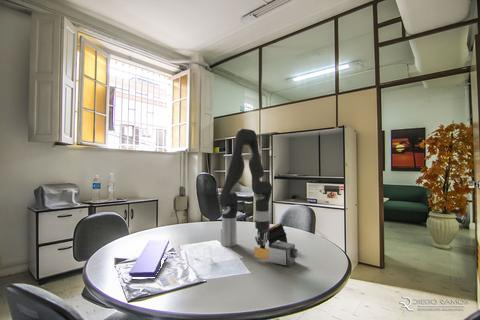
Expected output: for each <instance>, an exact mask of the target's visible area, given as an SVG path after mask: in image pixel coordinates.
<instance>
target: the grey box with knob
mask: <svg viewBox="0 0 480 320" xmlns="http://www.w3.org/2000/svg"><path fill="white" fill-rule="evenodd" d="M271 248H277V249H283V250H286V256H287V249H289V256H290V267H291V266H292V265H293V264H295V263H296V259H298V255H299V250H298V249H297V248H296V244H295V243H290V242H287V243H286V242H281V241H276V242H274V243H272V244H271ZM280 265H281V266H283V265H282V264H280ZM284 266H286V267H287V265H284Z"/></svg>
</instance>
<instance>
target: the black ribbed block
mask: <svg viewBox="0 0 480 320" xmlns="http://www.w3.org/2000/svg"><path fill="white" fill-rule="evenodd" d="M267 232H269V236H268V240H267V242H268V248H269V247H271V244H272V243H274V242H276V241H281V242H286V243H288V238H287V233H286V232H285V229H284V225H283V224H282V222H279V223H277V224H275V225H274V226H271V227H270V228H269V229H267Z"/></svg>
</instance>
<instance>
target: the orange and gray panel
mask: <svg viewBox="0 0 480 320" xmlns="http://www.w3.org/2000/svg"><path fill="white" fill-rule="evenodd" d="M253 249H254V251H253V252H254V254H253V255H254V256H253V257H254V258H257V259H264V260H267V261H268V262H269V263H273V264H277V265H281V264H282V265H281V266H285V265H287V266H286V268H287V267H288V268H289V267H291V266H290V256H289V249H287V256H286V250H283V249H277V248H271V247H269V246H268V248H266V247H265V248H260V246H254V248H253Z"/></svg>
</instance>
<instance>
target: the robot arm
mask: <svg viewBox="0 0 480 320" xmlns="http://www.w3.org/2000/svg"><path fill="white" fill-rule="evenodd" d="M245 146H248V147H249V148H250V154H249V155H250V156H249V160H248V168H249V171H250V174H251V189H252V192H253V193H254V194H255V195H256V196H260V198H258V199H256V200H255V213H254V217H255V218H254V220H255V221H254V223H255V225H254V226H255V227H254V228H255V229H257V236H255V237H254V239H255V242H256V244H257V245H258V246H259V248H265V249H266V244H267V243H268V236H269V232H267V229H269V228H271V227H270V223H271V221H270V200H271V196H272V191H273V187H272V183H270V181H268V180H264V181H263V180H261V178H263V177H264V176H265V172H264V167H263V165H262V161H261V157H260V151H259V150H260V149H259V142H258V137H257V134H256V131H255V130H253V129H249V128H239V129H237V132H236V134H235V139H234V145H233V150H232V154H231V157H230V163H229V165H228V169H227V173H226V177H225V180H224V184H223V187H222V189H221V191H220V194H219V198H218V202H219V205H220V206H221V207H223V208H227V209H225V210H224V211H223V212H222V214H221V229H220V245H222V246H223V247H230V248H232V247H236V246H237V245H238V241H237V238H238V235H237V233H238V232H237V228H238V227H237V225H238V224H237V223H238V222H237V215H238V209H239V208H238V207H239V205H238V204H239V203H238V202H239V197H238V194H237V193H236V191H232V190H233V188H234V187H235V185H236V184H237V183H238V182H239V181H240V180H241V179H242V178H243V177H242V176H243V175H244V171H245V161H244V158H243V148H244V147H245Z"/></svg>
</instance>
